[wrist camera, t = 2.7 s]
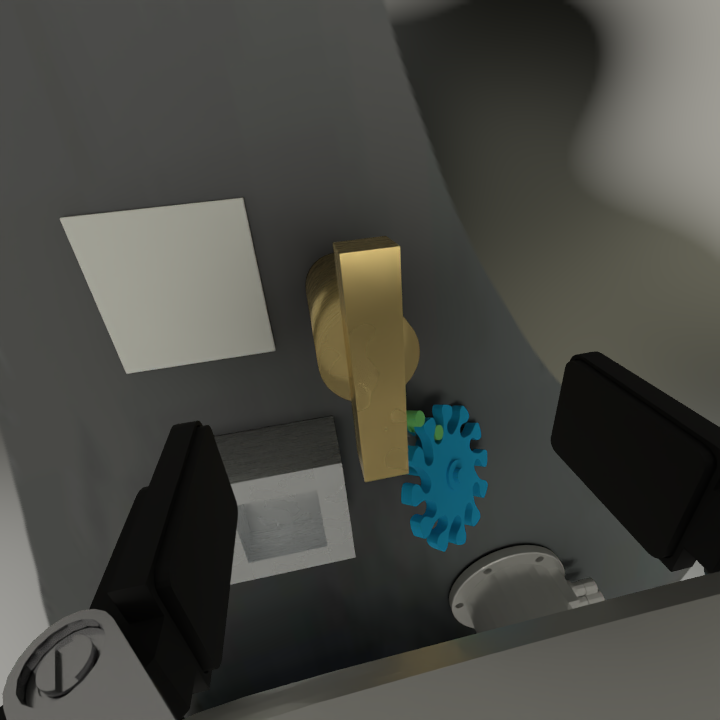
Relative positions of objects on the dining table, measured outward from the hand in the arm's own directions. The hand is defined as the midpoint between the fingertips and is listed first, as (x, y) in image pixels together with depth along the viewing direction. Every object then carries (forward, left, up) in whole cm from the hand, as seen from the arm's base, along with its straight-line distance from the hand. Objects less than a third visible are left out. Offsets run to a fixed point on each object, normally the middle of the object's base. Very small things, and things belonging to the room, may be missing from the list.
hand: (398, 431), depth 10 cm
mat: (+9, 0, -15) cm, 18 cm away
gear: (-6, +14, -16) cm, 21 cm away
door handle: (0, +1, -15) cm, 15 cm away
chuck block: (+8, +15, -15) cm, 22 cm away
